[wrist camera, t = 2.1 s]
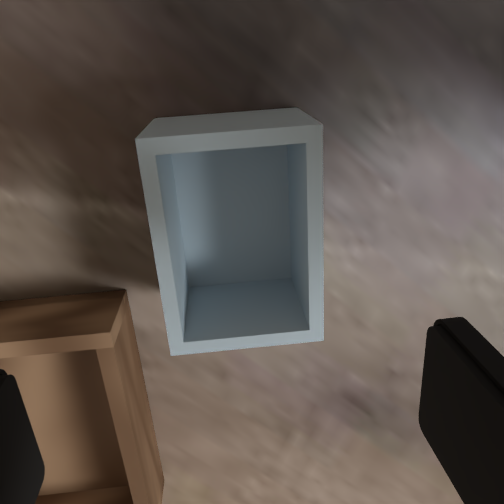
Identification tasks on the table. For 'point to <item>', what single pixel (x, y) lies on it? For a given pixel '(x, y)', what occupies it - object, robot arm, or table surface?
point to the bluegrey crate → (236, 227)
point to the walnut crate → (84, 397)
